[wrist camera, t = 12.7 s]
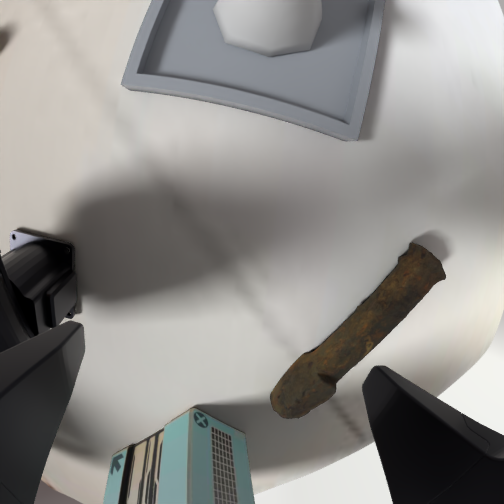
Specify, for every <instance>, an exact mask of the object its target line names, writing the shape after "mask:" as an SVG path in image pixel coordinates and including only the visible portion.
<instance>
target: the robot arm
mask: <svg viewBox="0 0 504 504" xmlns="http://www.w3.org/2000/svg"><path fill="white" fill-rule="evenodd" d="M15 235H16V238H15ZM67 248H69V250H70V252H68V251H67ZM10 250H11V251H9V252H8V253H6V254H5V255H3V256H1V255H0V504H34V501H35V497H36V493H37V490H38V486H39V483H40V480H41V477H42V473H43V470H44V467H45V464H46V461H47V458H48V455H49V452H50V449H51V447H52V444H53V441H54V438H55V436H56V433H57V430H58V428H59V425H60V423H61V420H62V418H63V415H64V413H65V410H66V408H67V405H68V403H69V400H70V398H71V395H72V392H73V388H74V385H75V382H76V378H77V375H78V372H79V369H80V366H81V362H82V359H83V356H84V353H85V339H84V327H83V325H82V324H81V323H78V322H74V321H67V322H65V323H63V324H61V325H59V324H60V323H61V321H62V320H63V319H64V317H65V318H69V319H72V318H73V317H74V315H75V313H76V312H75V303H76V302H77V283H76V272H75V271H74V261H75V248H74V246H73V244H72V243H69V242H65V241H61V240H57V239H53V238H48V237H44V236H40V235H36V234H32V233H28V232H24V231H20V230H14V231H12V232H11V233H10ZM0 253H1V251H0ZM69 312H70V313H71V314H70V313H69ZM58 325H59V326H58ZM50 328H52V329H50ZM362 391H363V395H364V400H365V404H366V409H367V414H368V418H369V423H370V427H371V430H372V434H373V437H374V440H375V443H376V446H377V450H378V453H379V456H380V459H381V462H382V466H383V470H384V473H385V476H386V480H387V483H388V487H389V490H390V494H391V498H392V501H393V504H504V435H502V434H500V433H498V432H496V431H494V430H492V429H490V428H488V427H486V426H484V425H482V424H480V423H478V422H476V421H475V420H473V419H471V418H469V417H468V416H466V415H464V414H463V413H462V414H461V412H459V411H458V410H456V409H454V408H453V407H451V406H449V405H448V404H446V403H444V402H443V401H441V400H440V399H438V398H436V397H435V396H433V395H431V394H430V393H428V392H426V391H425V390H423V389H422V388H420V387H418V386H417V385H415V384H414V383H412V382H410V381H409V380H407V379H406V378H404V377H402V376H401V375H399V374H398V373H396V372H394V371H393V370H391V369H390V368H388V367H386V366H374V367H373V368H372V369H371V371H370V373H369V374H368V376H367V378H366V379H365V381H364V383H363V386H362Z"/></svg>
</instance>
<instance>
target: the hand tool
mask: <svg viewBox="0 0 504 504" xmlns="http://www.w3.org/2000/svg"><path fill="white" fill-rule="evenodd" d="M444 279H446V274H445V272H444V270H443V267H442V264H441V262H440V260H438V259H437V258H436V257H435V256H434V255H433V254H432V253H431V252H429V251H428V250H427V249H426V248H424V247H422V246H420V245H418V244H415V243H409V249H408V253H407V254H406V255H403V256H401V257H398V265H397V266H396V268H395V269H394V270H393V271H392V272H391V274H390V275H389V276H388V277H387V278H386V279H385V280H384V281H383V282H382V284H381V285H380V286H379V287H378V289H377V290H376V291H375V292H374V293H373V294H372V295H371V296H370V297H369V298H368V299H367V300H366V301H365V302H364V303H363V304H362V305H359V306H357V309H356V311H355V312H354V313H353V314H352V315H351V316H350V317H349V318H348V319H347V320H345V321H344V323H343V324H342V325H341V326H340V327H339V328H338V329H337V330H336V331H335V332H334V333H333V334H332V335H331V336H330V337H329V338H327V339H326V340H325V341H324V342H323V343H322V344H321V345H320V346H319V347H318V348H317V349H316V350H315V351H313V352H307V353H304V354H302V355H301V356H300V357H299V358H298V359H297V360H296V361H295V362H294V363H293V364H292V365H291V367H290V368H289V369H288V370H287V371H286V373H285V374H284V375H283V376H282V378H281V379H280V380H279V382H278V383H277V385H276V386H275V388H274V389H273V391H272V392H271V394H270V400H271V404H272V407H273V409H274V411H276V412H277V413H278V414H279V415H280V416H281V417H283V418H287V419H289V418H291V419H292V418H300V417H302V416H304V415H306V414H307V413H308V412H310V410H312V409H314V408H316V407H317V406H319V405H320V404H322V403H324V402H326V401H327V400H328V399H329V398H330V397H332V396H333V395H334V393H335V392H336V383H337V382H338V381H339V380H340V379H341V378H342V377H343V376H344V375H345V374H346V373H347V372H348V371H349V370H350V369H351V368H352V367H354V366H355V365H356V364H357V363H358V362H360V361H361V360H362V359H363V358H364V357H365V356H366V355H367V354H368V353H369V352H370V351H372V350H373V349H374V348H375V347H376V346H377V345H378V344H379V343H380V342H381V341H382V340H383V339H384V338H385V337H386V336H387V335H388V334H389V333H390V332H391V331H392V330H393V329H394V328H395V327H396V326H397V325H398V324H399V323H400V322H401V321H402V320H403V319H404V318H405V317H406V316H407V315H408V313H409V312H410V311H411V310H412V309H413V308H414V307H415V306H416V305H417V304H418V303H419V302H420V301H421V300H422V299H423V297H424V296H425V295H426V294H427V293H428V292H429V291H430V289H431V288H432V287H433V285H435V284H436V283H437V282H439V281H441V280H444Z"/></svg>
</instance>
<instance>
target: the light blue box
mask: <svg viewBox="0 0 504 504" xmlns="http://www.w3.org/2000/svg"><path fill="white" fill-rule="evenodd" d="M103 504H255V501H254V494H253V488H252V481H251V474H250V467H249V460H248V452H247V445H246V438H245V434H244V433H242V432H240V431H238V430H236V429H234V428H232V427H230V426H228V425H226V424H224V423H222V422H220V421H218V420H216V419H215V418H213V417H211V416H209V415H207V414H205V413H203V412H202V411H200V410H198V409H196V408H191V409H189V410H188V411H186V412H185V413H183V414H182V415H180V416H179V417H177V418H175V419H174V420H172V421H171V422H169V423H167V424H166V425H165V427H164V428H163V429H161V430H159V431H158V432H156V433H154V434H153V435H151V436H149V437H147V438H146V439H144V440H142V441H141V442H139V443H137V444H135V445H133V446H132V445H131V446H128V447H127V448H125V449H123V450H121V451H119V452H118V453H116V454H114V455H113V456H112V460H111V465H110V470H109V475H108V480H107V485H106V490H105V495H104V501H103Z"/></svg>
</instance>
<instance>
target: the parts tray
mask: <svg viewBox="0 0 504 504" xmlns="http://www.w3.org/2000/svg"><path fill="white" fill-rule="evenodd" d="M217 1H218V0H152V1H151V3H150V6H149V8H148V10H147V13H146V15H145V17H144V20H143V22H142V25H141V27H140V30H139V32H138V35H137V37H136V40H135V43H134V45H133V48H132V51H131V54H130V57H129V60H128V63H127V66H126V69H125V72H124V75H123V79H122V82H121V85H122V86H124V87H125V88H127V89H129V90H131V91H140V92H149V93H156V94H164V95H170V96H177V97H183V98H189V99H194V100H199V101H205V102H210V103H215V104H219V105H224V106H228V107H233V108H237V109H241V110H245V111H249V112H253V113H257V114H261V115H265V116H269V117H272V118H276V119H279V120H283V121H286V122H289V123H293V124H296V125H299V126H302V127H305V128H309V129H312V130H315V131H318V132H321V133H323V134H326V135H329V136H332V137H335V138H338V139H340V140H343V141H358V137H359V133H360V129H361V125H362V121H363V117H364V112H365V108H366V103H367V99H368V94H369V90H370V85H371V80H372V75H373V70H374V65H375V60H376V55H377V49H378V44H379V38H380V32H381V25H382V19H383V12H384V5H385V0H321V2H322V21H321V23H320V26H319V28H318V31H317V33H316V36H315V38H314V41H313V43H312V46H311V48H310V50H306V51H299V52H293V53H287V54H282V55H276V56H271V57H267V56H264V55H261V54H258V53H255V52H252V51H249V50H246V49H243V48H240V47H237V46H234V45H230V44H227V43H225V41H224V39H223V36H222V33H221V30H220V28H219V25H218V22H217V19H216V17H215V14H214V11H213V8H214V6H215V5H216V3H217Z"/></svg>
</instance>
